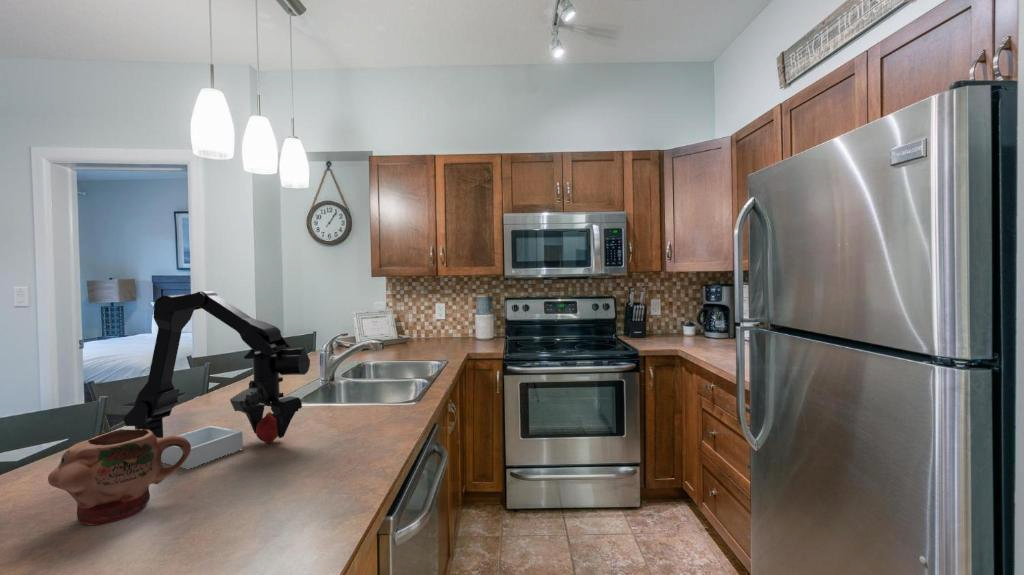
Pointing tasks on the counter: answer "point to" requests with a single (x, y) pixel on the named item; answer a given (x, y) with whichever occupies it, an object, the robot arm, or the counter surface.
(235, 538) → the counter surface
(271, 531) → the counter surface
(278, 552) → the counter surface
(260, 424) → the onion
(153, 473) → the tan novelty mug
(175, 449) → the bin
